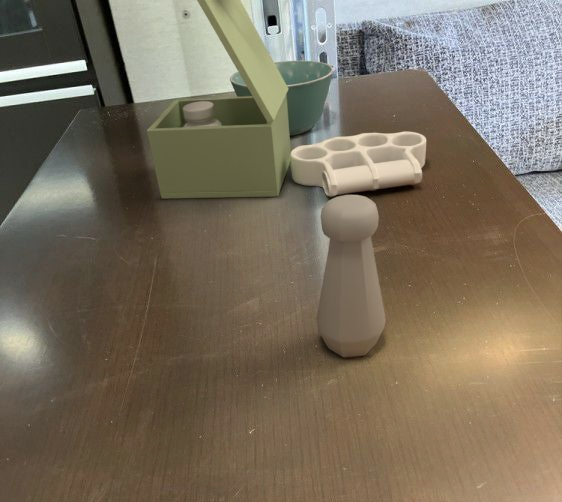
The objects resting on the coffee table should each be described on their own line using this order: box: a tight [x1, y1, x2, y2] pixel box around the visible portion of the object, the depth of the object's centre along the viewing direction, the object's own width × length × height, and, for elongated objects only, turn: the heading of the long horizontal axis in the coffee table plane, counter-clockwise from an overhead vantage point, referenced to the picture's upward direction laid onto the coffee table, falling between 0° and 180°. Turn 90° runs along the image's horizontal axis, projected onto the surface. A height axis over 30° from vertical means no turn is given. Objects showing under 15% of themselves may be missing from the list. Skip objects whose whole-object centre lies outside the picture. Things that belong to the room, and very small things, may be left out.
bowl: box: [229, 60, 334, 136], centre depth 97 cm, size 16×16×8 cm
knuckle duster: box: [290, 130, 427, 198], centre depth 81 cm, size 3×18×15 cm
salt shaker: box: [316, 194, 387, 358], centre depth 50 cm, size 6×6×13 cm
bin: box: [146, 95, 292, 200], centre depth 82 cm, size 16×13×9 cm
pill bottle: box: [183, 101, 222, 127], centre depth 82 cm, size 5×5×9 cm
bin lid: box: [196, 0, 288, 123], centre depth 73 cm, size 16×13×5 cm
